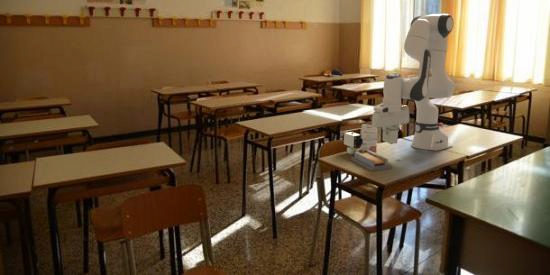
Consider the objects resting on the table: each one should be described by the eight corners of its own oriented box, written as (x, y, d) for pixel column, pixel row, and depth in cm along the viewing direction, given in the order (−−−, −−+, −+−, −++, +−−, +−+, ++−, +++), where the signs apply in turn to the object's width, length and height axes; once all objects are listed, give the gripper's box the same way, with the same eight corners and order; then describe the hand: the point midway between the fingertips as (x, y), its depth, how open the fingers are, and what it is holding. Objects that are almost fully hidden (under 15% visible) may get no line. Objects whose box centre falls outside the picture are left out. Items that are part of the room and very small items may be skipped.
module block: (389, 139, 214) (389, 124, 212) (397, 143, 208) (398, 127, 205) (382, 140, 213) (383, 125, 210) (390, 144, 206) (391, 128, 204)
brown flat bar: (367, 154, 211) (367, 152, 210) (383, 162, 198) (383, 160, 198) (358, 156, 209) (358, 154, 208) (374, 164, 196) (374, 162, 196)
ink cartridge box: (376, 149, 229) (378, 123, 226) (376, 151, 225) (377, 125, 221) (360, 148, 232) (362, 122, 228) (360, 150, 227) (361, 124, 223)
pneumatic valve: (355, 157, 215) (356, 134, 212) (341, 151, 225) (341, 130, 222) (363, 155, 218) (364, 133, 215) (348, 150, 228) (349, 128, 225)
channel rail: (369, 157, 214) (370, 149, 213) (390, 168, 198) (391, 159, 196) (351, 160, 210) (351, 151, 209) (371, 171, 194) (371, 162, 193)
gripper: (405, 103, 211) (403, 130, 215) (370, 107, 205) (369, 134, 208) (413, 106, 206) (411, 132, 210) (378, 110, 199) (376, 137, 203)
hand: (390, 133), depth 209 cm, fingers closed on module block, 4 cm apart
